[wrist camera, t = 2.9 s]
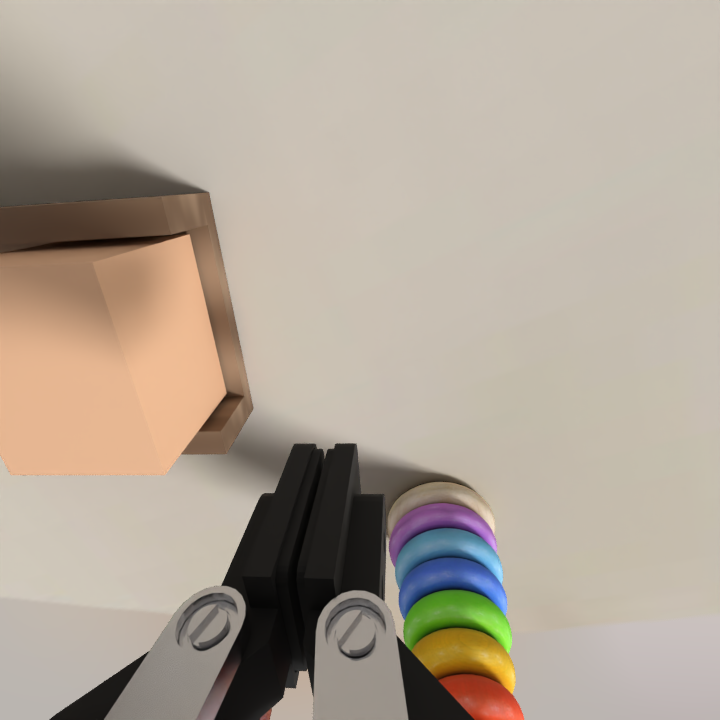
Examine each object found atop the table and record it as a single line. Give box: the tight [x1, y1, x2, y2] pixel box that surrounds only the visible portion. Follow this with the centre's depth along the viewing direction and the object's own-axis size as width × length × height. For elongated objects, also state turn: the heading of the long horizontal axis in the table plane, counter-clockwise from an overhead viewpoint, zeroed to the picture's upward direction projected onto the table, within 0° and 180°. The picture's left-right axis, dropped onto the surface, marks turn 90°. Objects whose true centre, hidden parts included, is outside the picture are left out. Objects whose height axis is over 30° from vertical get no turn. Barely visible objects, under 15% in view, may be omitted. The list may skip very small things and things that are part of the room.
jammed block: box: [0, 234, 227, 475], centre depth 21 cm, size 10×8×8 cm
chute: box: [0, 192, 253, 454], centre depth 24 cm, size 14×20×5 cm
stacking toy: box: [387, 482, 524, 720], centre depth 22 cm, size 8×8×19 cm
